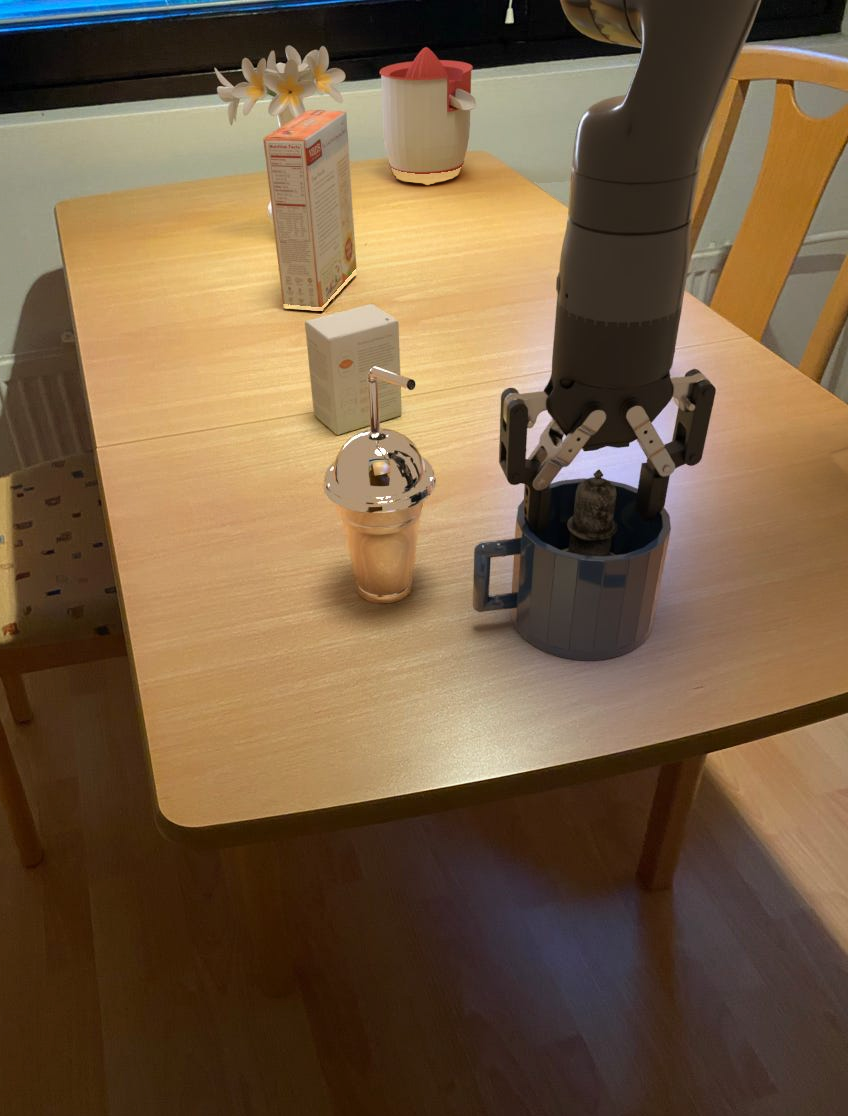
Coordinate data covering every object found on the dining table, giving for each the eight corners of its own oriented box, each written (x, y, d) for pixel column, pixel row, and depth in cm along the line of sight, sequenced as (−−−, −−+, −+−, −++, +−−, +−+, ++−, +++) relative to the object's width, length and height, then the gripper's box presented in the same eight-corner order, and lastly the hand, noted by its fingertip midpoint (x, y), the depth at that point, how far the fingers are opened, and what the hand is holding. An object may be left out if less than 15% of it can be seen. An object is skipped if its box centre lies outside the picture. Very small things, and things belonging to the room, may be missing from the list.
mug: (624, 567, 79) (639, 471, 73) (673, 651, 71) (694, 550, 65) (458, 586, 78) (459, 491, 72) (488, 674, 70) (492, 574, 64)
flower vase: (233, 229, 154) (209, 47, 138) (347, 217, 156) (336, 36, 140) (239, 255, 144) (214, 63, 128) (361, 242, 146) (351, 51, 130)
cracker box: (318, 273, 136) (305, 108, 123) (358, 276, 134) (350, 109, 121) (279, 310, 126) (260, 134, 113) (321, 314, 124) (308, 136, 111)
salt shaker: (551, 632, 72) (564, 494, 64) (537, 585, 77) (549, 451, 69) (629, 627, 72) (652, 489, 64) (611, 581, 77) (631, 446, 69)
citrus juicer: (440, 196, 162) (440, 59, 149) (364, 180, 171) (359, 51, 159) (496, 175, 170) (501, 43, 158) (421, 161, 180) (420, 36, 167)
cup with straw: (431, 553, 82) (429, 325, 69) (442, 619, 75) (442, 379, 62) (331, 560, 82) (311, 332, 69) (333, 626, 75) (311, 387, 62)
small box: (377, 397, 105) (373, 301, 99) (403, 416, 102) (400, 319, 95) (312, 415, 103) (303, 319, 96) (335, 436, 99) (327, 338, 92)
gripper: (520, 328, 55) (507, 562, 66) (759, 304, 56) (709, 538, 67) (490, 283, 61) (483, 504, 72) (708, 262, 62) (669, 484, 73)
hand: (592, 520), depth 69 cm, fingers open, 7 cm apart
